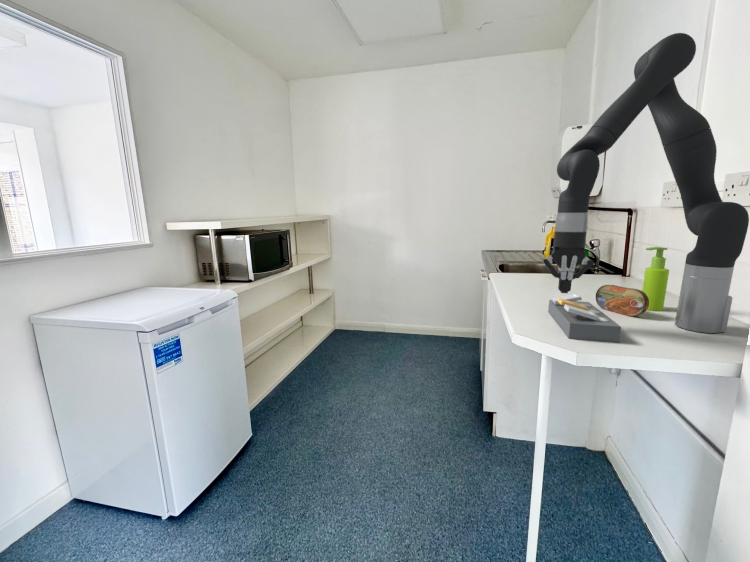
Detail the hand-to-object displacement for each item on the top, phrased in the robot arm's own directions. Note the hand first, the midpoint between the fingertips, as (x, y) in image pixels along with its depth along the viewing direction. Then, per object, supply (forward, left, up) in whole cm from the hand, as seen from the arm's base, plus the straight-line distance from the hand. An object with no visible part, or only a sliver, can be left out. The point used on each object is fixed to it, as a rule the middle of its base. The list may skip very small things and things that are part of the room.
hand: (563, 292), depth 95 cm
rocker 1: (-3, -7, -3) cm, 8 cm away
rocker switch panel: (-5, 0, -9) cm, 10 cm away
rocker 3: (-3, +7, -3) cm, 8 cm away
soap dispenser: (-32, -24, -9) cm, 41 cm away
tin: (-21, -17, -9) cm, 28 cm away
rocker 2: (-3, 0, -3) cm, 4 cm away
